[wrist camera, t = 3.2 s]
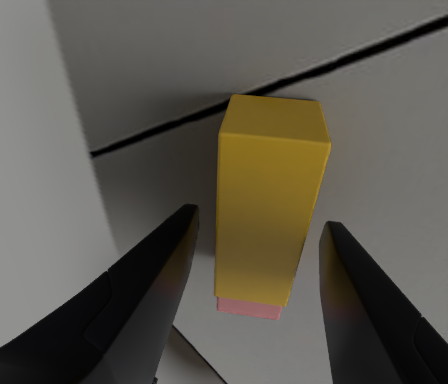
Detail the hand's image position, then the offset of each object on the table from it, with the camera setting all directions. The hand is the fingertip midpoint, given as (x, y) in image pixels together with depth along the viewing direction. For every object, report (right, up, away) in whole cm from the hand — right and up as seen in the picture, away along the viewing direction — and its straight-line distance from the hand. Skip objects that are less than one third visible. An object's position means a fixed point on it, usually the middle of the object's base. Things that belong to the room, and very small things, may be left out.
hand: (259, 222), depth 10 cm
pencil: (0, +1, +1) cm, 1 cm away
